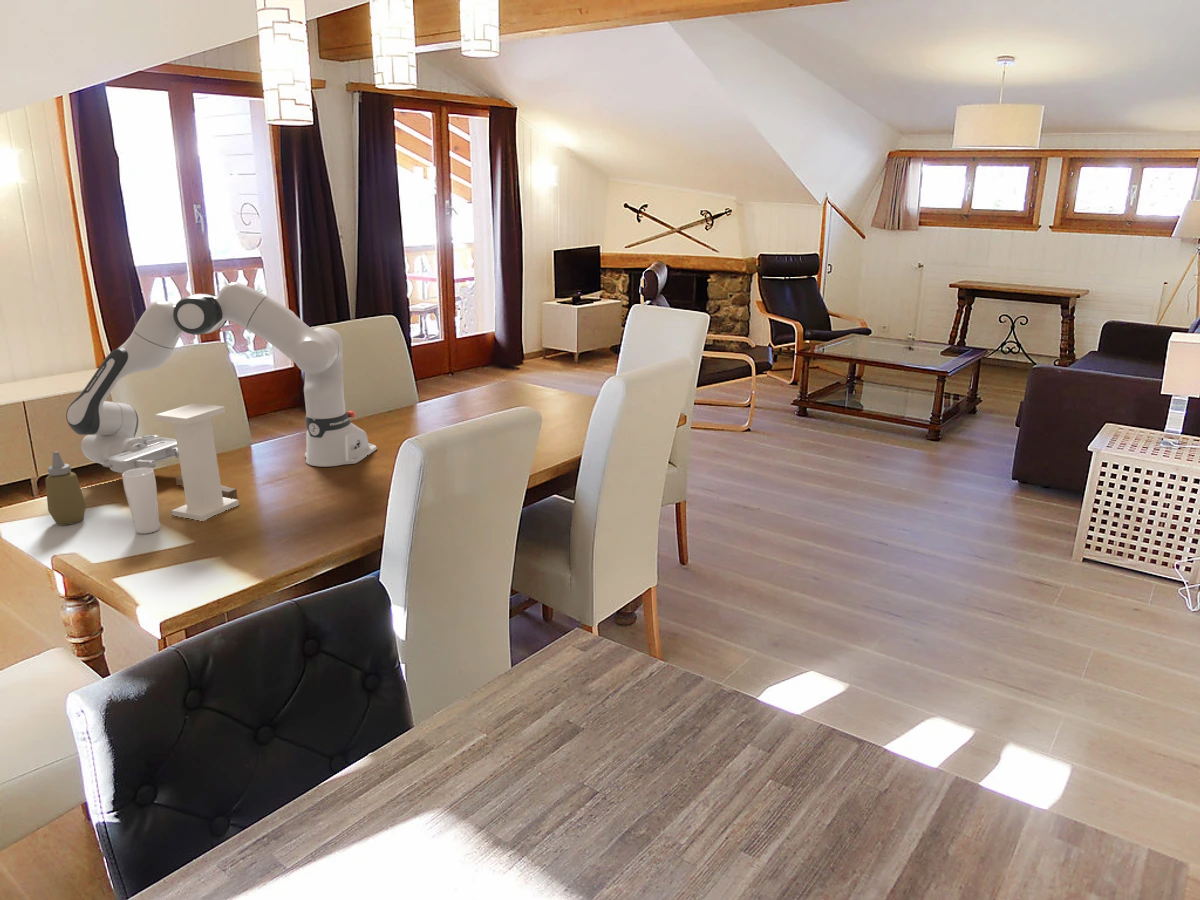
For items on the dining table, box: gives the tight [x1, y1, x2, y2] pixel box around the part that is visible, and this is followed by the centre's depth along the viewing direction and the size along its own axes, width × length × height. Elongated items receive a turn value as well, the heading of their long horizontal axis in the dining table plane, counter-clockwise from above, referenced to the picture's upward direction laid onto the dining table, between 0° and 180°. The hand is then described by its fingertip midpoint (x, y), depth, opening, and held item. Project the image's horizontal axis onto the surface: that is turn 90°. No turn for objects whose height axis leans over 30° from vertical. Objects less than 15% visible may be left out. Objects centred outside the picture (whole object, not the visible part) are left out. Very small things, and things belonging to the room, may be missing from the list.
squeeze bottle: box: [44, 451, 87, 526], centre depth 211 cm, size 8×8×18 cm
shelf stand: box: [155, 402, 240, 522], centre depth 216 cm, size 12×10×26 cm
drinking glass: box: [121, 468, 161, 535], centre depth 205 cm, size 7×7×15 cm
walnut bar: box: [175, 475, 238, 499], centre depth 233 cm, size 2×22×2 cm, turn 60°
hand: (168, 459), depth 235 cm, fingers open, 8 cm apart
